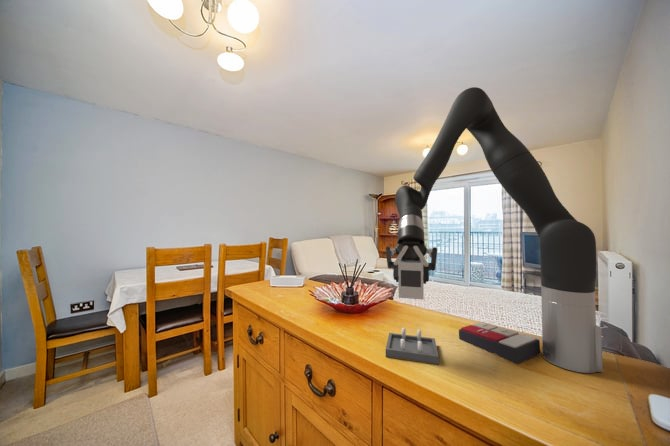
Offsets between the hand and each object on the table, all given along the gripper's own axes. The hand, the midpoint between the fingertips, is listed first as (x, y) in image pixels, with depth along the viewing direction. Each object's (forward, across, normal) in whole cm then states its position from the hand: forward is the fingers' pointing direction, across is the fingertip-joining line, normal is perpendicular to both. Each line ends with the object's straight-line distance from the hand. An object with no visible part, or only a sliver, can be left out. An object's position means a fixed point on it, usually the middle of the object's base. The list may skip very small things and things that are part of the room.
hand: (410, 280), depth 62 cm
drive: (+2, 0, +4) cm, 5 cm away
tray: (+12, 0, +14) cm, 18 cm away
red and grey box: (+5, +22, +21) cm, 31 cm away
